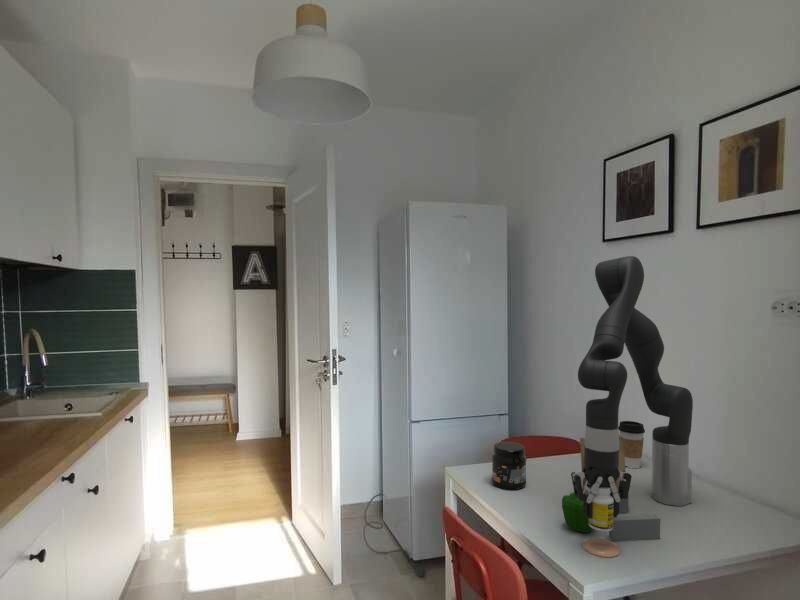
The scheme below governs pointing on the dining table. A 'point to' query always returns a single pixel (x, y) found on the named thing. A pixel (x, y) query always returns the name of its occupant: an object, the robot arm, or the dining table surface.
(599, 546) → the coaster
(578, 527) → the bell pepper
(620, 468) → the tan flat square panel
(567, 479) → the dining table surface
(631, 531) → the rails
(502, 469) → the supplement container
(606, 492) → the supplement bottle
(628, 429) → the coffee cup
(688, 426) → the robot arm
